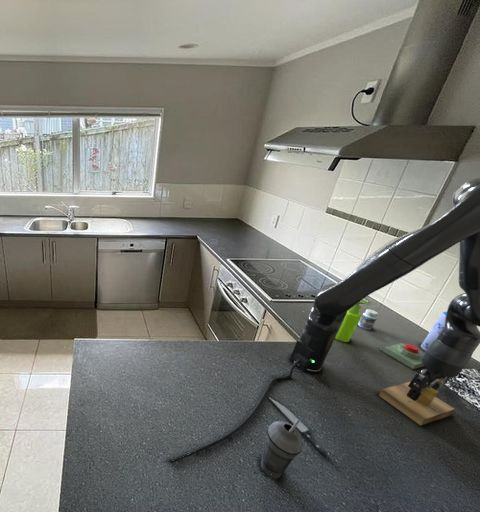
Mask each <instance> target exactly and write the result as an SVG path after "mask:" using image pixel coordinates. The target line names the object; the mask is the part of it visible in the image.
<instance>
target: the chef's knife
mask: <svg viewBox="0 0 480 512" xmlns="http://www.w3.org/2000/svg"><path fill="white" fill-rule="evenodd" d="M269 400H270V401H271V402H272V403H273V404H274V405H275V406H276V408H278V410H279V411H280V412H281V413H282V414H283V415H284V416H285V417H286V418H287V419H288V420H289V421H290V422H291V424H292V425H294V423H295V422H296V421H297V419H298V417H297V416H296V415H295V414H294V413H293V412H291V411H290V410H289V409H288V408H287V407H285V405H282V404H281V403H280V402H278V401H277V400H275V399H273V398H271V397H269ZM295 428H296V429H297V430H298V431H299V433H300V434H301V435H303V436H304V437H305V438H306V439H307V440H308V441H309V442H310V443H311V445H313V447H314V448H316V450H317V451H318V452H319V453H320V454H321V455H322V456H323V457H327V452H326V451H325V450H324V449H323V448H322V447H320V446H319V444H318V443H316V442H315V440H314V439H313V438H312V437H311V436H310V435H309V434H308V431H309V428H308V427H307V426H306V425H305V424H304V423H302V421H301V420H300V422H299V423H298V424H297V426H296V427H295Z"/></svg>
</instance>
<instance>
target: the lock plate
mask: <svg viewBox="0 0 480 512" xmlns="http://www.w3.org/2000/svg"><path fill="white" fill-rule="evenodd" d="M410 382H411V381H407V382H403V383H399V384H397V385H392V386H389V387H386V388H382V389H381V391H380V393H379V394H378V396H379V397H380V398H381V399H382V400H384V401H386V402H387V403H388V404H390V405H391V406H393V408H395V409H397V410H398V411H400V412H401V413H402V414H404V415H405V416H407V417H408V418H409V419H411V420H412V421H414V422H415V423H416V424H417V425H419V426H423V425H426V424H430V423H432V422H435V421H438V420H441V419H445V418H447V417H450V416H452V414H453V413H454V411H455V410H456V408H454V407H453V406H451V405H450V404H448V403H446V402H445V401H443V400H441V399H440V398H438V397H437V396H436V397H435V398H434V399H433V401H432V402H431V404H430V405H427V406H426V405H424V404H423V403H421V402H420V401H418V400H416V401H414V400H412V399H410V398H409V397H408V396H407V391H408V389H409V388H410V387H408V385H409V384H410Z"/></svg>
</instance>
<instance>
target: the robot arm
mask: <svg viewBox="0 0 480 512" xmlns="http://www.w3.org/2000/svg"><path fill="white" fill-rule="evenodd" d="M451 202H452V203H451V204H452V205H453V207H452V208H450V209H449V210H448V211H446V212H445V213H443V214H442V215H441V216H440V217H438V218H437V219H435V220H434V221H432V222H430V223H429V224H427V225H424V226H423V227H421V228H418V229H416V230H415V229H414V230H412V231H410V232H407V233H405V234H402V235H399V236H398V237H396V238H395V237H394V238H393V239H392V240H390V241H388V242H386V243H385V244H384V245H383V246H381V247H379V248H378V249H377V250H375V251H374V252H373V253H371V255H369V256H368V257H367V258H365V260H363V261H362V262H361V263H360V264H359V265H358V266H357V267H356V268H355V269H354V270H353V271H352V272H350V274H349V275H347V276H346V277H345V278H344V279H341V281H339V282H337V283H328V284H325V285H323V286H322V287H321V288H319V290H318V291H317V293H316V294H315V296H314V300H313V302H314V303H313V304H312V307H311V309H310V311H309V312H308V315H307V318H306V320H305V323H304V326H303V328H302V330H301V332H300V335H299V337H298V340H296V342H295V344H294V347H293V350H292V352H291V355H290V357H289V360H290V361H291V362H292V365H291V367H290V370H289V372H288V374H286V375H284V376H275V377H273V378H271V379H270V381H269V382H268V384H267V385H266V388H265V390H264V392H263V393H262V395H261V397H260V398H259V400H258V401H257V403H256V405H255V406H254V408H253V409H252V410H251V412H250V413H249V414H248V415H247V417H246V418H245V419H243V421H242V422H240V424H238V425H237V426H236V427H234V428H233V429H232V430H230V431H229V432H226V433H225V434H224V435H222V436H220V437H218V438H216V439H214V440H213V441H211V442H208V443H206V444H204V445H201V446H199V447H197V448H194V449H192V450H190V451H187V452H185V453H183V454H179V455H177V456H174V457H172V458H170V459H169V462H170V463H171V464H175V463H177V462H179V461H181V460H184V459H186V458H188V457H191V456H193V455H195V454H198V453H201V452H202V451H205V450H207V449H210V448H211V447H214V446H216V445H217V444H220V443H222V442H223V441H225V440H227V439H229V438H230V437H232V436H233V435H234V434H236V433H237V432H239V431H240V430H241V429H242V428H244V427H245V425H247V423H248V422H250V420H251V419H252V418H253V417H254V415H255V414H256V413H257V411H258V409H259V408H260V406H261V405H262V403H263V402H264V400H265V398H266V396H267V394H269V391H270V389H271V387H272V385H273V384H274V382H276V381H280V380H287V379H289V378H291V376H292V375H293V373H294V370H295V368H296V366H297V367H298V368H299V369H300V370H301V371H303V372H309V373H319V372H321V371H322V367H323V365H324V363H325V361H326V358H327V357H328V355H329V352H330V350H331V348H332V346H333V343H334V341H335V339H336V338H335V337H336V335H337V333H338V331H339V329H340V327H341V324H342V322H343V320H344V318H345V315H346V313H347V311H348V310H349V309H351V308H352V307H353V306H354V305H356V304H357V303H358V302H360V301H361V300H362V299H363V300H365V298H367V297H368V296H370V295H372V294H373V293H375V292H377V291H379V290H381V289H383V288H385V287H387V286H388V285H390V284H392V283H394V282H396V281H397V280H399V279H401V278H403V277H405V276H407V275H408V274H410V273H412V272H413V271H415V270H416V269H418V268H420V267H421V266H423V265H425V264H427V263H428V262H429V261H431V260H433V259H434V258H435V257H437V256H439V255H441V254H442V253H444V252H446V251H447V250H449V249H450V248H452V247H454V246H455V245H457V244H458V243H459V255H458V257H459V258H458V279H457V280H458V287H459V288H460V289H461V290H462V291H463V293H460V294H458V295H456V296H455V297H454V298H452V299H451V301H450V302H449V304H448V307H447V310H446V312H447V314H446V319H445V326H444V328H443V329H442V331H441V332H440V334H439V335H438V337H437V338H436V339H435V340H434V341H433V342H432V344H431V345H430V347H429V348H428V350H427V351H425V353H424V356H423V358H422V360H421V361H422V363H423V364H424V365H425V366H424V367H425V368H424V369H422V370H421V371H416V373H415V375H414V376H413V377H412V379H411V381H409V382H410V384H409V385H408V387H410V388H411V389H410V391H409V392H408V394H407V396H408V397H409V398H410V399H412V400H414V401H416V400H418V398H419V397H420V395H421V394H422V393H423V392H424V390H426V389H427V388H428V389H430V388H433V389H435V390H436V391H438V389H439V388H440V387H443V385H446V384H447V383H448V381H449V380H450V378H456V377H458V376H459V375H460V374H461V372H463V369H464V368H465V367H466V366H467V364H468V362H469V361H471V358H472V356H473V354H474V352H475V351H476V349H477V348H478V347H479V345H480V330H479V328H480V177H478V178H473V179H471V180H467V181H465V182H463V183H462V184H461V185H459V186H458V187H457V188H456V189H455V190H454V192H453V193H452V196H451ZM360 303H361V302H360ZM478 327H479V328H478ZM417 384H418V385H419V387H418V386H416V385H417ZM194 451H196V452H194ZM188 452H190V453H191V454H189V453H188ZM187 454H189V455H187ZM183 456H184V457H183ZM180 457H181V458H180ZM172 460H174V461H172Z"/></svg>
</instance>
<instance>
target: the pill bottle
mask: <svg viewBox="0 0 480 512" xmlns="http://www.w3.org/2000/svg"><path fill="white" fill-rule="evenodd" d="M378 315H379V313H378V312H377V311H376V310H373V309H370V308H367V309H366V310H365V311H364V312H363V313H362V314H361V318H360V320H359V322H358V324H357V326H358V327H360V328H361V329H364V330H372V328H373V326H374V324H375V322H376V321H377V318H378Z"/></svg>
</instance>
